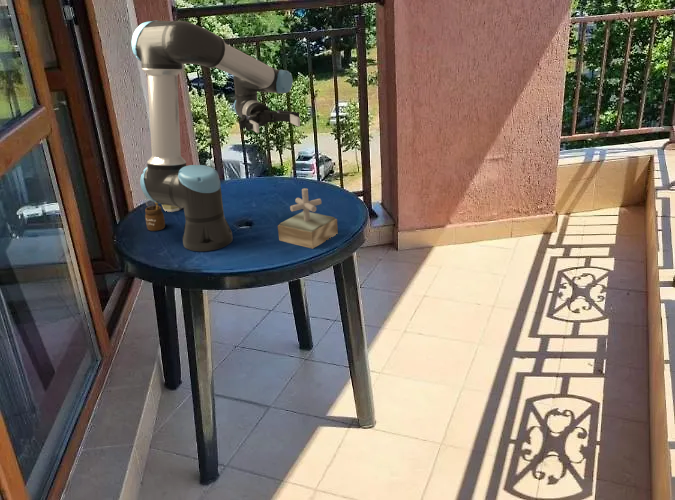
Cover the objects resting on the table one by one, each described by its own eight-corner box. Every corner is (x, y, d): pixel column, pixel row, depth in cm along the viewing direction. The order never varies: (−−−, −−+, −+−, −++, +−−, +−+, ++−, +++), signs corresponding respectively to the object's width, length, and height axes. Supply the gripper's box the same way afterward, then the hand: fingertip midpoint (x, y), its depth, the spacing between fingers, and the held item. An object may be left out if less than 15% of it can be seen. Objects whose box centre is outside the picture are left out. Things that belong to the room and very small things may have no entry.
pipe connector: (300, 229, 190) (298, 197, 186) (285, 219, 198) (282, 188, 193) (329, 221, 194) (327, 189, 190) (313, 212, 202) (310, 181, 198)
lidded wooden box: (312, 248, 190) (311, 231, 188) (279, 240, 197) (277, 223, 195) (337, 233, 200) (336, 217, 197) (304, 226, 207) (303, 210, 204)
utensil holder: (157, 223, 215) (151, 189, 211) (170, 226, 212) (164, 192, 207) (143, 229, 211) (137, 194, 206) (155, 232, 208) (149, 197, 203)
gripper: (291, 119, 222) (316, 131, 205) (222, 129, 213) (241, 143, 195) (290, 97, 219) (314, 107, 202) (219, 107, 210) (238, 118, 192)
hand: (278, 125), depth 198 cm, fingers open, 13 cm apart
